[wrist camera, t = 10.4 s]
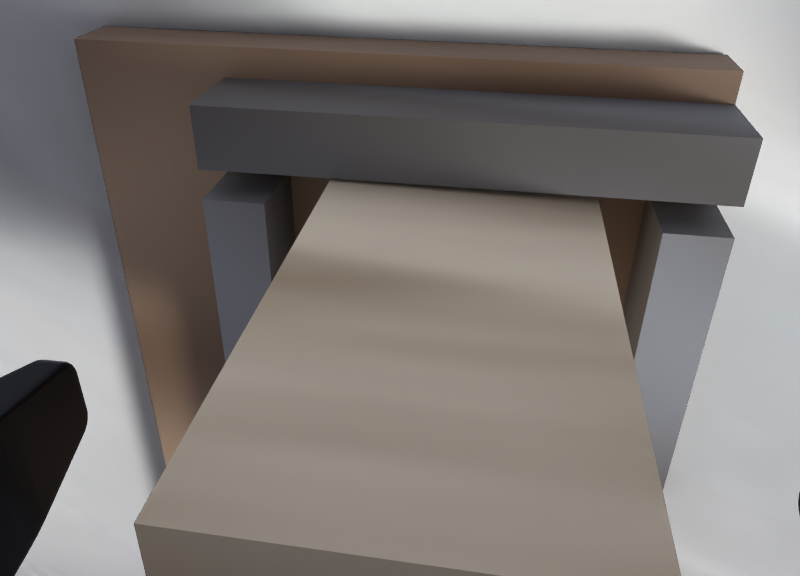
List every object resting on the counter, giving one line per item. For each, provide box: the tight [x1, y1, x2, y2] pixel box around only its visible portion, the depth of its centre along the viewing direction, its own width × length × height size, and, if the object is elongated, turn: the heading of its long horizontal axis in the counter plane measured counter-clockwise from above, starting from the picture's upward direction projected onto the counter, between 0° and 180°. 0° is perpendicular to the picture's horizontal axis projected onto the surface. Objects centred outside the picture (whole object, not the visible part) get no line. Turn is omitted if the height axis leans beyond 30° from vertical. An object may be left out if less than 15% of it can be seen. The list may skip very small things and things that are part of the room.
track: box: [74, 26, 763, 491], centre depth 15 cm, size 14×10×2 cm
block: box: [134, 179, 681, 576], centre depth 10 cm, size 4×4×8 cm
